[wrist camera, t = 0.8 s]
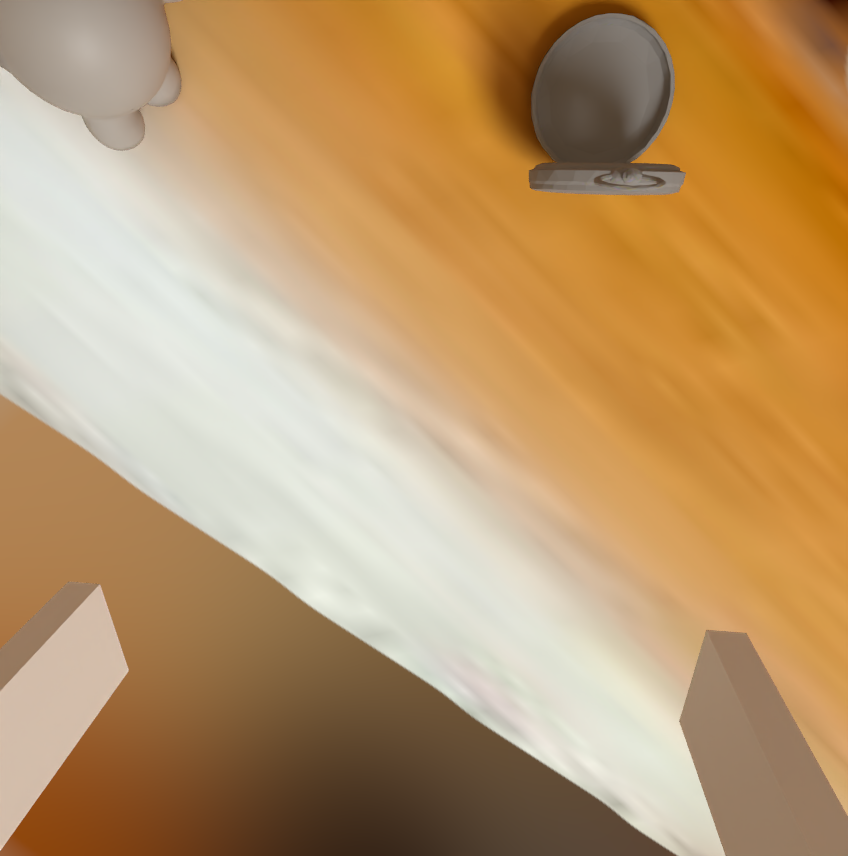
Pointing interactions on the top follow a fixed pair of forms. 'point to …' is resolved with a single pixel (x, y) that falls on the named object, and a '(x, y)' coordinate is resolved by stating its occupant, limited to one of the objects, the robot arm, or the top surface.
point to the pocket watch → (603, 109)
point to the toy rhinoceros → (93, 60)
